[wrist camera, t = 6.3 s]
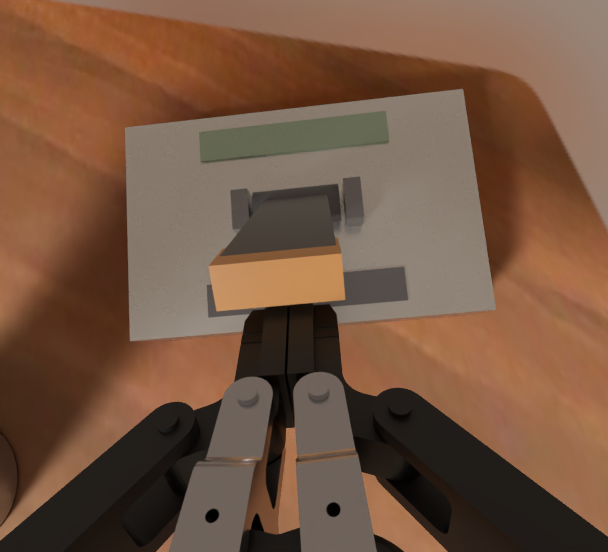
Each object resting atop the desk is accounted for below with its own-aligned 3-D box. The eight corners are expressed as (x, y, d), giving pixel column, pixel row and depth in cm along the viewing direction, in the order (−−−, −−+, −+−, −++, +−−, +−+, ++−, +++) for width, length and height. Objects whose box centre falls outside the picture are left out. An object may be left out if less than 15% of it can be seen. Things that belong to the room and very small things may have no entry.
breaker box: (167, 340, 33) (113, 341, 25) (160, 163, 35) (109, 111, 27) (465, 315, 31) (509, 307, 23) (440, 133, 33) (472, 69, 26)
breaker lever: (260, 225, 27) (199, 325, 13) (255, 190, 27) (185, 254, 12) (339, 217, 27) (367, 310, 13) (337, 181, 26) (362, 237, 12)
